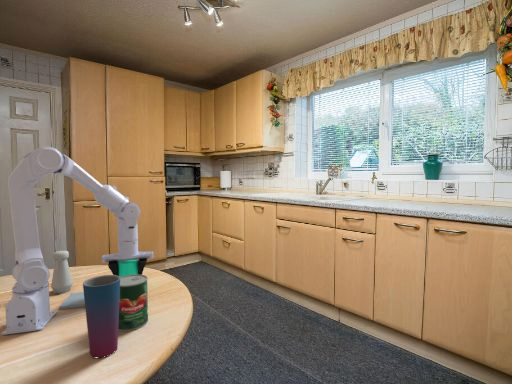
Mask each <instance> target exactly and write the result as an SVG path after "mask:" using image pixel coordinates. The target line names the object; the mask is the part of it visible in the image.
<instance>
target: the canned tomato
mask: <svg viewBox="0 0 512 384" xmlns="http://www.w3.org/2000/svg"><path fill="white" fill-rule="evenodd" d="M148 296H149V294H148V276H147V275H145V274H142V275H127V276H123V277H120V298H119V322H118V332H131V330H132V331H135V329H136V330H139V329H141V328H143V327H144V326H145V325H146V324H148V322H149V305H148V304H149V299H148V298H149V297H148ZM140 327H141V328H140ZM138 328H139V329H138Z"/></svg>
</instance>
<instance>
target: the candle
mask: <svg viewBox="0 0 512 384" xmlns="http://www.w3.org/2000/svg"><path fill="white" fill-rule="evenodd" d="M138 261H139V260H127V261H119V262H118V276H119V277H123V276H127V275H138V274H139V273H138Z"/></svg>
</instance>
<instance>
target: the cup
mask: <svg viewBox="0 0 512 384" xmlns="http://www.w3.org/2000/svg"><path fill="white" fill-rule="evenodd" d="M82 289H83V290H82V291H83V292H84V300H85V307H84V308H85V309H84V310H85V317H86V329H87V337H88V346H89V347H88V348H89V354H90V355H91V356H92V357H104V356H107V355H110V354H112V353H113V352H114V351H115V352H116V351H117V350H118V343H119V331H118V322H119V298H120V277H119V276H117V275H113V274H104V275H97V276H94V277H90V278H88V279H86V280H84V281H83V282H82ZM115 352H114V353H115ZM114 353H113V354H114ZM113 354H112V355H113ZM90 355H89V356H90ZM91 356H90V357H91ZM110 356H111V355H110ZM92 357H91V358H92ZM107 357H108V356H107ZM104 358H105V357H104Z"/></svg>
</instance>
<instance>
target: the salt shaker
mask: <svg viewBox="0 0 512 384" xmlns="http://www.w3.org/2000/svg"><path fill="white" fill-rule="evenodd" d="M69 257H70V253H69V251H68V250H57V251H54V252H53V253H52V259H53V260H54V266H53V273H52V278H51V284H50V285H51V286H50V287H51V289H52V291H53V293H54V294H58V295H59V294H64V293H68V292H70V291H71V288H72V286H73V283H74V281H73V277H72V274H71V270H70V267H69V263H68V259H69Z"/></svg>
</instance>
